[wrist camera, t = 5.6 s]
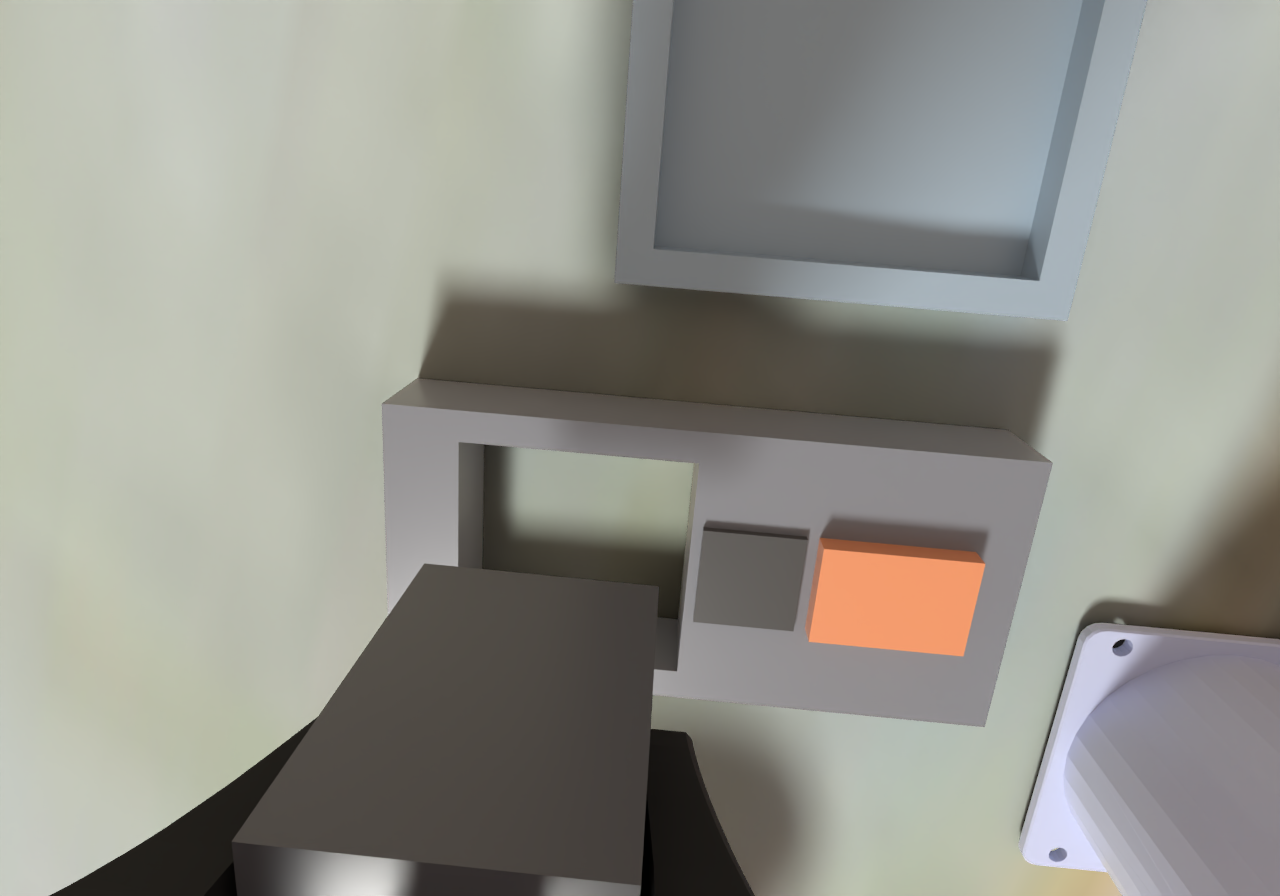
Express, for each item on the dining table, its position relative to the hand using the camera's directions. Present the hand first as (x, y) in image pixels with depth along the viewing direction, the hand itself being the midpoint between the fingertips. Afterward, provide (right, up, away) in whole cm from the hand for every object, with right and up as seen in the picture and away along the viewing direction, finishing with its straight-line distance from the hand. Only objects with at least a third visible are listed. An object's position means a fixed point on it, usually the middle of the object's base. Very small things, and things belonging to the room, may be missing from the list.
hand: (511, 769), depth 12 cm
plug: (0, +1, +2) cm, 2 cm away
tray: (+7, +13, +5) cm, 16 cm away
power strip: (+3, +3, +9) cm, 10 cm away
